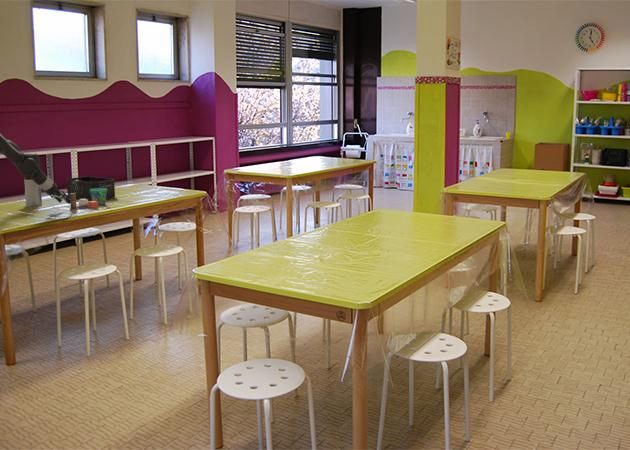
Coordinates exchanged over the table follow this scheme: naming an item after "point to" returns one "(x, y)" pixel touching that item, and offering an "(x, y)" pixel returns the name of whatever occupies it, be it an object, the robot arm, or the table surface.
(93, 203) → the board
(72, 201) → the pawn
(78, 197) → the storage bin
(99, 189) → the snack cup
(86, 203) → the dome
